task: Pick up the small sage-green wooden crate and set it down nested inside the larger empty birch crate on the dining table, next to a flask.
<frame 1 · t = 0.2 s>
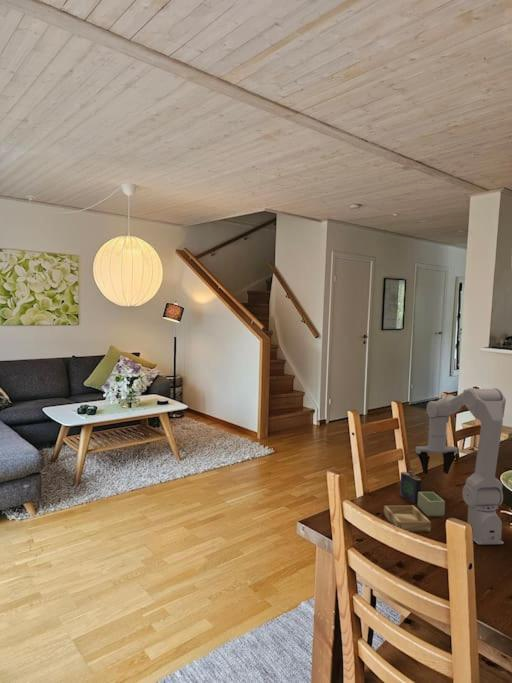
hand: (435, 473, 161), 10 cm above the table, tool pointing down, fingers open, 7 cm apart
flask: (410, 500, 161), on the table
big crate: (406, 522, 143), on the table
small crate: (430, 511, 152), on the table
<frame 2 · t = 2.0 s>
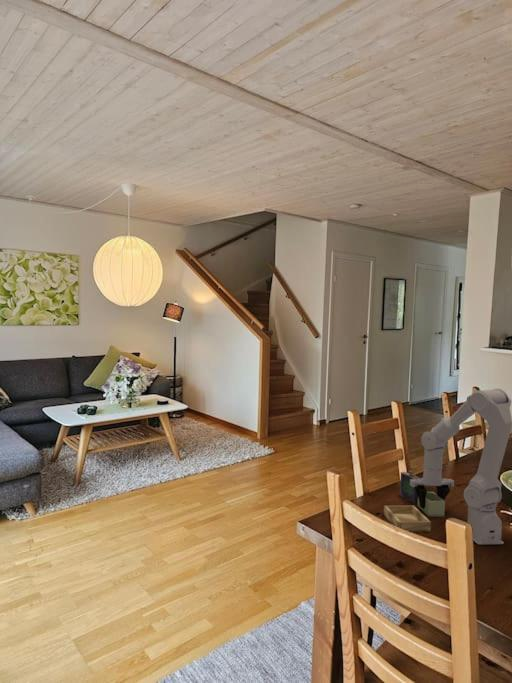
hand: (430, 507, 152), 1 cm above the table, tool pointing down, fingers closed on small crate, 5 cm apart
small crate: (430, 511, 152), on the table, touching gripper
everything else where it was.
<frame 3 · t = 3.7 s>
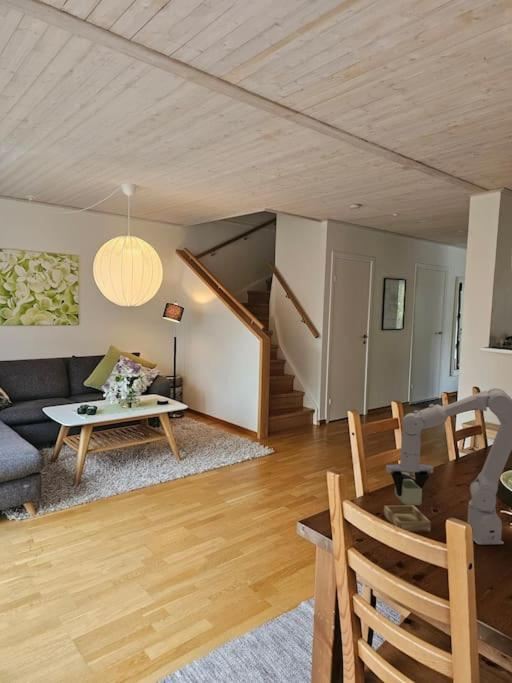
hand: (408, 494, 143), 9 cm above the table, tool pointing down, fingers closed on small crate, 5 cm apart
small crate: (407, 499, 143), point 7 cm above the table, touching gripper
everything else where it was.
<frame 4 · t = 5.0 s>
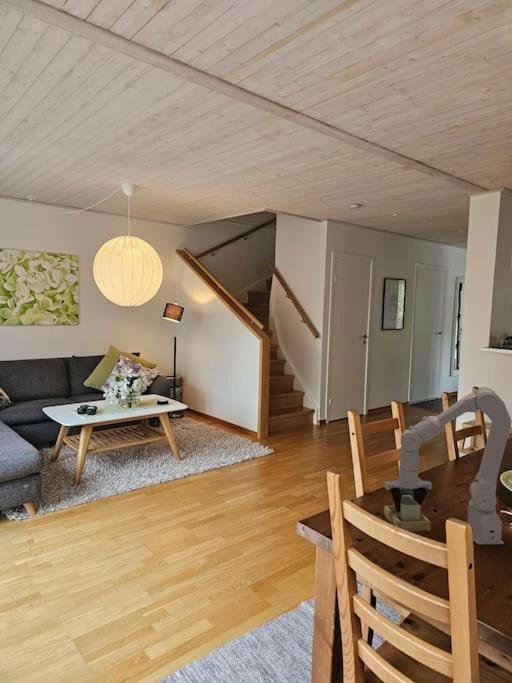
hand: (406, 511, 143), 4 cm above the table, tool pointing down, fingers closed on small crate, 5 cm apart
small crate: (406, 516, 143), point 2 cm above the table, touching gripper
everything else where it was.
when the fingers open (4 cm above the table, at t = 5.7 s): small crate drops 1 cm, resting on big crate.
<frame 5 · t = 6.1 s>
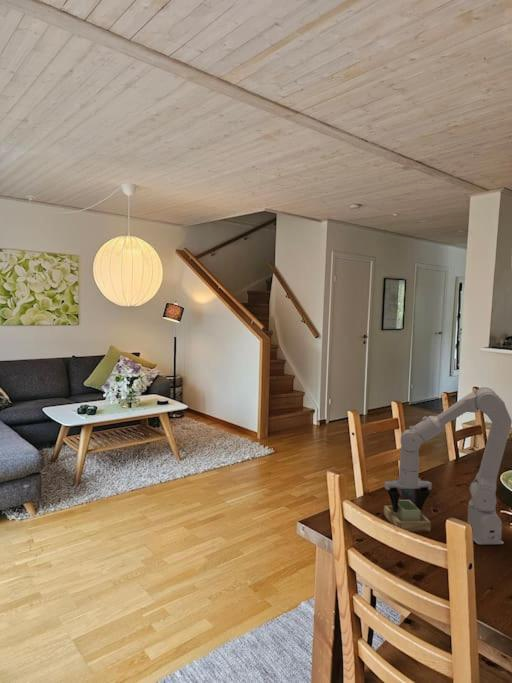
hand: (406, 511, 143), 4 cm above the table, tool pointing down, fingers open, 7 cm apart
small crate: (405, 520, 143), point 1 cm above the table, touching big crate
everything else where it was.
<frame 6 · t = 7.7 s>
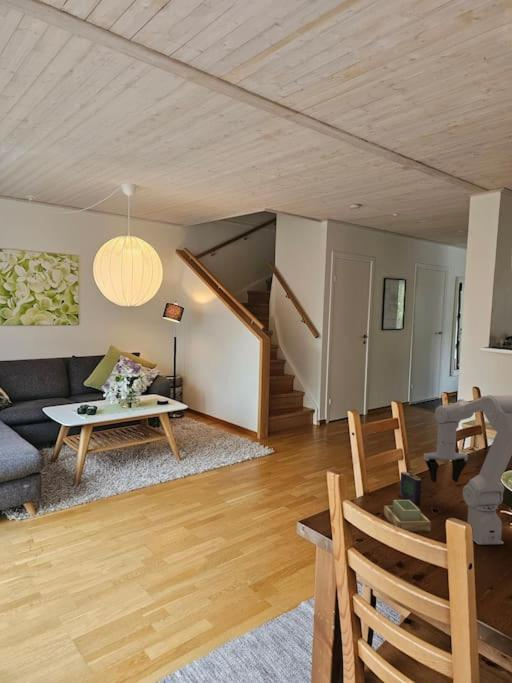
hand: (444, 481, 153), 10 cm above the table, tool pointing down, fingers open, 7 cm apart
nothing on the table moved.
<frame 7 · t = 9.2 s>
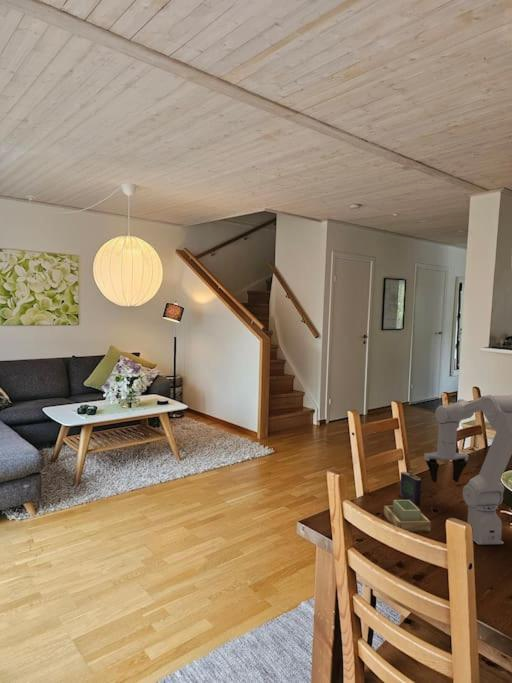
hand: (444, 480, 153), 10 cm above the table, tool pointing down, fingers open, 7 cm apart
nothing on the table moved.
at the end: small crate 0.3 cm off-centre on the big crate, point 0.6 cm above the big crate's base; small crate tilted 0°; the gripper is holding nothing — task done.
